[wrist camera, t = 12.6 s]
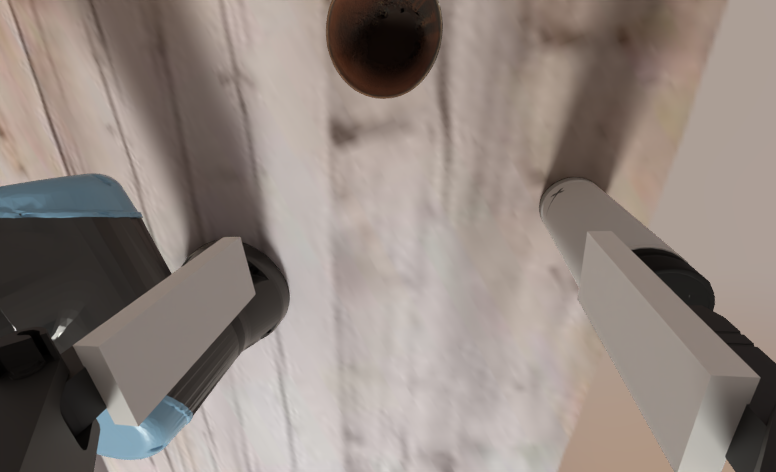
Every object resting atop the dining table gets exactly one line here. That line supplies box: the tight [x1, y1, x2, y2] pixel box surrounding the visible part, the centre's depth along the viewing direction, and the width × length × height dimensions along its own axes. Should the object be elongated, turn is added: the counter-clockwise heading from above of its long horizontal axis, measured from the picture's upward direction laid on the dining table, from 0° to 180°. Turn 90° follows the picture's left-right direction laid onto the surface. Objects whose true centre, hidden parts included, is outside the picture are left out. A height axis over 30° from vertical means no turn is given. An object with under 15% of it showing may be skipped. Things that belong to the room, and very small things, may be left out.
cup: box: [326, 0, 443, 99], centre depth 31 cm, size 9×9×10 cm
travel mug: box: [539, 177, 715, 311], centre depth 30 cm, size 6×7×20 cm
